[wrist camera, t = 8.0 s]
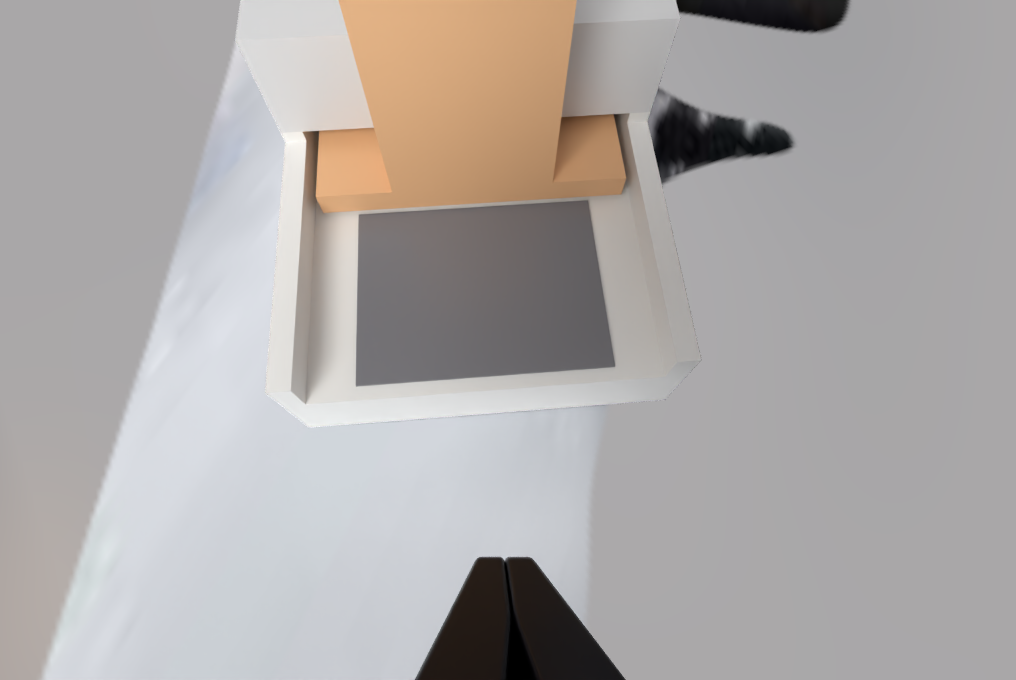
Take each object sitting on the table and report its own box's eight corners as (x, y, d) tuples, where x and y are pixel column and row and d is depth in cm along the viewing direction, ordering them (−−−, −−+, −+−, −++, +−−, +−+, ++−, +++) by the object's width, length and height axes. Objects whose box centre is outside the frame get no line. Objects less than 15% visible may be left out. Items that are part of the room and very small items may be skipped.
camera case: (665, 399, 23) (758, 297, 15) (308, 427, 22) (195, 337, 14) (589, 10, 31) (621, -195, 23) (328, 23, 31) (264, -183, 22)
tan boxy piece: (621, 194, 23) (690, -29, 14) (323, 212, 22) (217, -7, 14) (592, 46, 26) (636, -208, 17) (330, 60, 25) (247, -195, 17)
